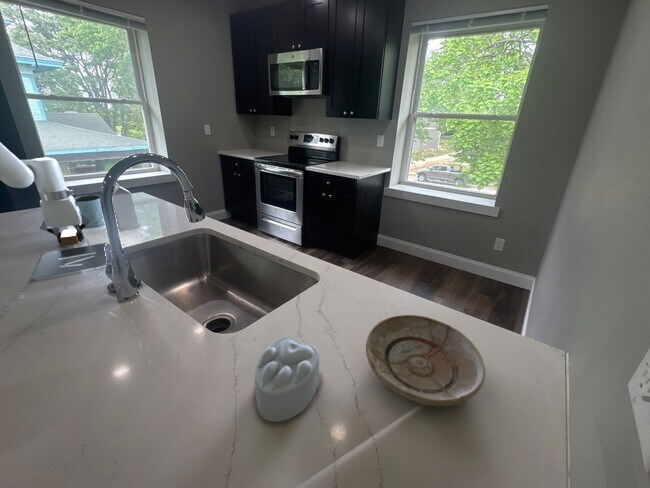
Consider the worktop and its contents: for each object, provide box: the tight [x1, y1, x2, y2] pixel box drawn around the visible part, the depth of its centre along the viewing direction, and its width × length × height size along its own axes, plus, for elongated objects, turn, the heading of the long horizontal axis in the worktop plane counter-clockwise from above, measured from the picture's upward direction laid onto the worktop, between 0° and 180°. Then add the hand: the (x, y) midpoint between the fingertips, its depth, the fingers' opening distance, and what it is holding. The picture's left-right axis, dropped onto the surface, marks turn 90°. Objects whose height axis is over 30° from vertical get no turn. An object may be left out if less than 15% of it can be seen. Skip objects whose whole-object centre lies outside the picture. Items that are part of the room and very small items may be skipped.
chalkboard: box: [30, 242, 107, 281], centre depth 100 cm, size 20×20×1 cm
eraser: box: [60, 228, 80, 247], centre depth 110 cm, size 8×4×4 cm, turn 32°
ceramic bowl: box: [365, 314, 486, 407], centre depth 62 cm, size 23×24×5 cm
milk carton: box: [113, 182, 140, 231], centre depth 124 cm, size 7×7×19 cm
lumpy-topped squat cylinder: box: [254, 336, 320, 423], centre depth 55 cm, size 10×13×9 cm
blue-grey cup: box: [73, 194, 106, 229], centre depth 126 cm, size 10×10×12 cm
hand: (72, 242), depth 111 cm, fingers closed on eraser, 4 cm apart
